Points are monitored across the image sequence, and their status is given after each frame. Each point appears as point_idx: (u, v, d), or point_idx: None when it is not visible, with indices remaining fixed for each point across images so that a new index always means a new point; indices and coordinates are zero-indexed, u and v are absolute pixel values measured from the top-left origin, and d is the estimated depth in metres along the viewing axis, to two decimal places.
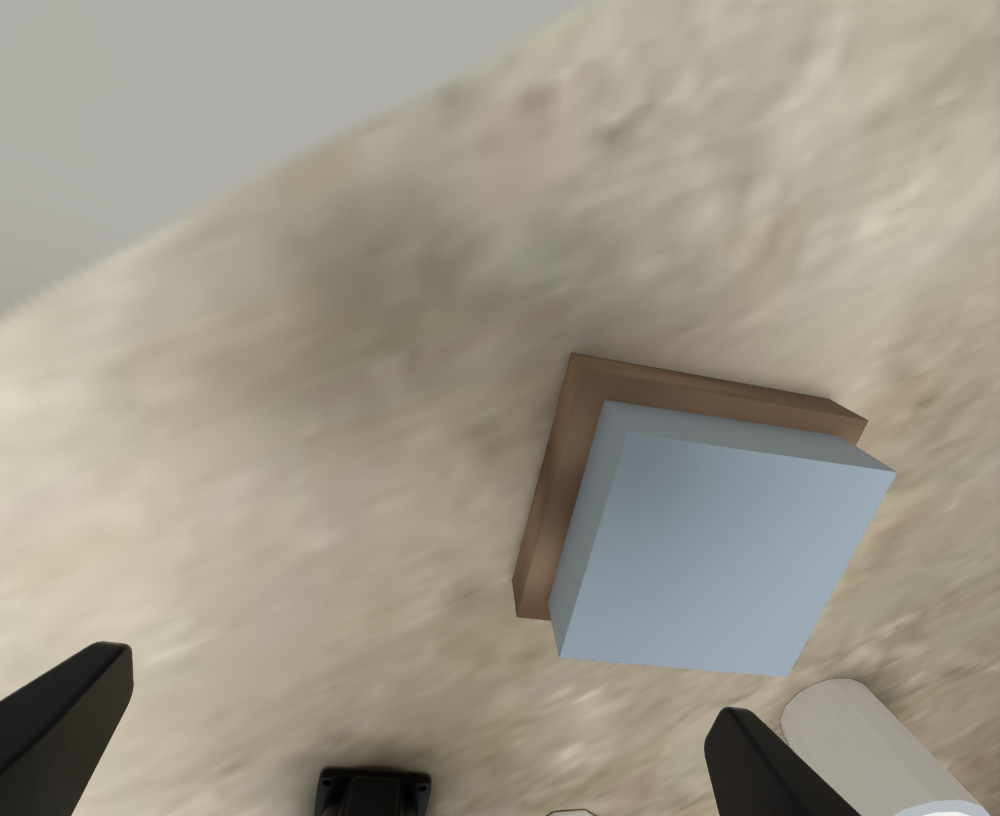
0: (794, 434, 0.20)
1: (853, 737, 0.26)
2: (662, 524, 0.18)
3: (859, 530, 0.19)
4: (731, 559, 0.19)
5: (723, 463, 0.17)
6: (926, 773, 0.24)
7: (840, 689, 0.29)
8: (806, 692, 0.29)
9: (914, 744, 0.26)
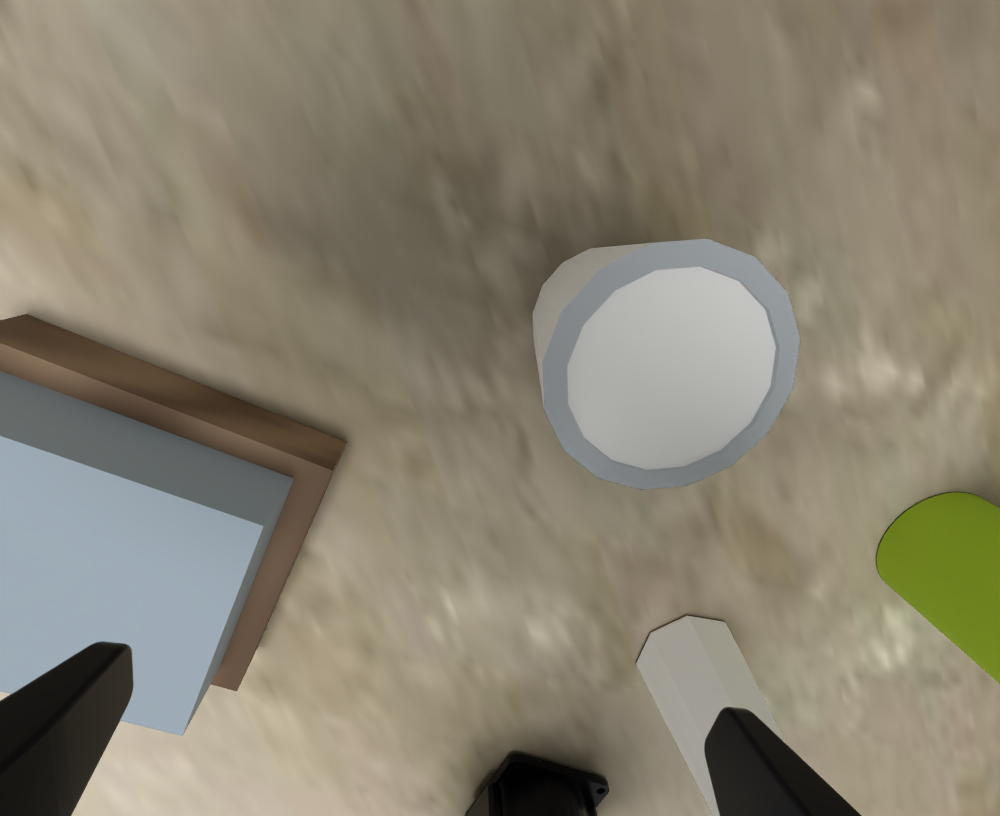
0: None
1: (538, 366, 0.17)
2: None
3: None
4: (42, 580, 0.16)
5: None
6: (549, 323, 0.14)
7: (533, 316, 0.19)
8: None
9: (562, 286, 0.15)
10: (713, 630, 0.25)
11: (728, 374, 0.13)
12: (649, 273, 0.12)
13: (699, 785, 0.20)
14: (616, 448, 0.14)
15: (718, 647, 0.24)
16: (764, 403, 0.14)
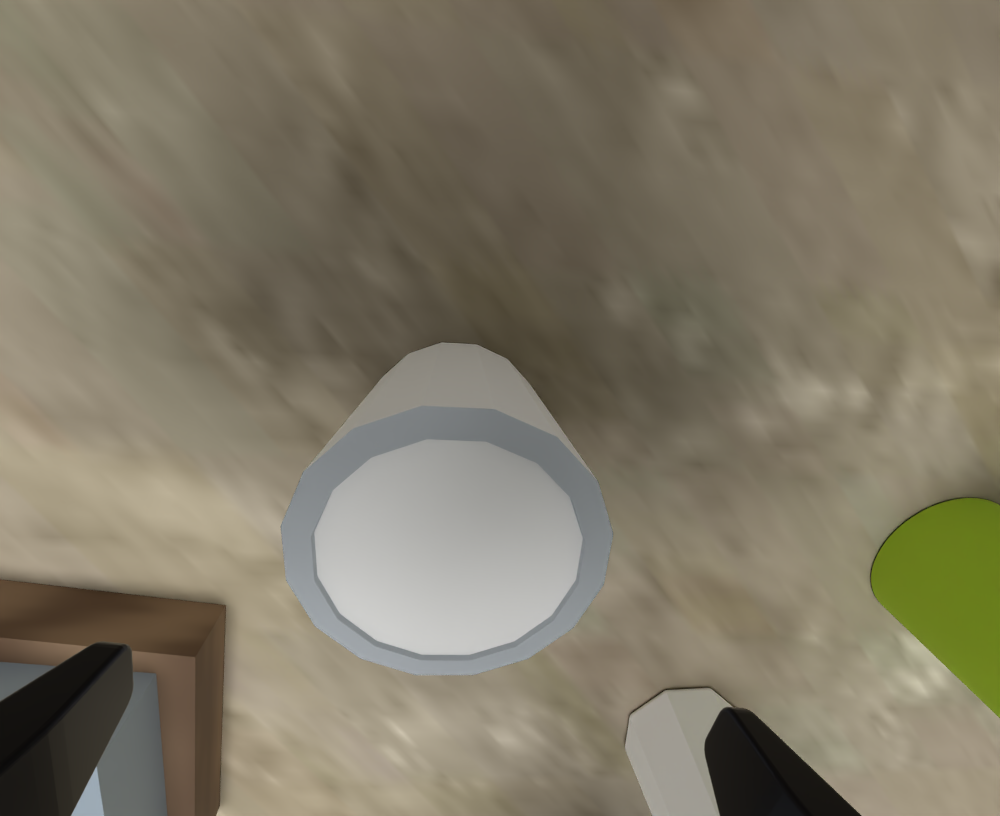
0: None
1: None
2: None
3: None
4: None
5: None
6: None
7: None
8: None
9: None
10: (696, 705, 0.22)
11: (522, 538, 0.10)
12: (366, 461, 0.10)
13: None
14: (421, 642, 0.11)
15: (701, 727, 0.21)
16: (582, 558, 0.11)
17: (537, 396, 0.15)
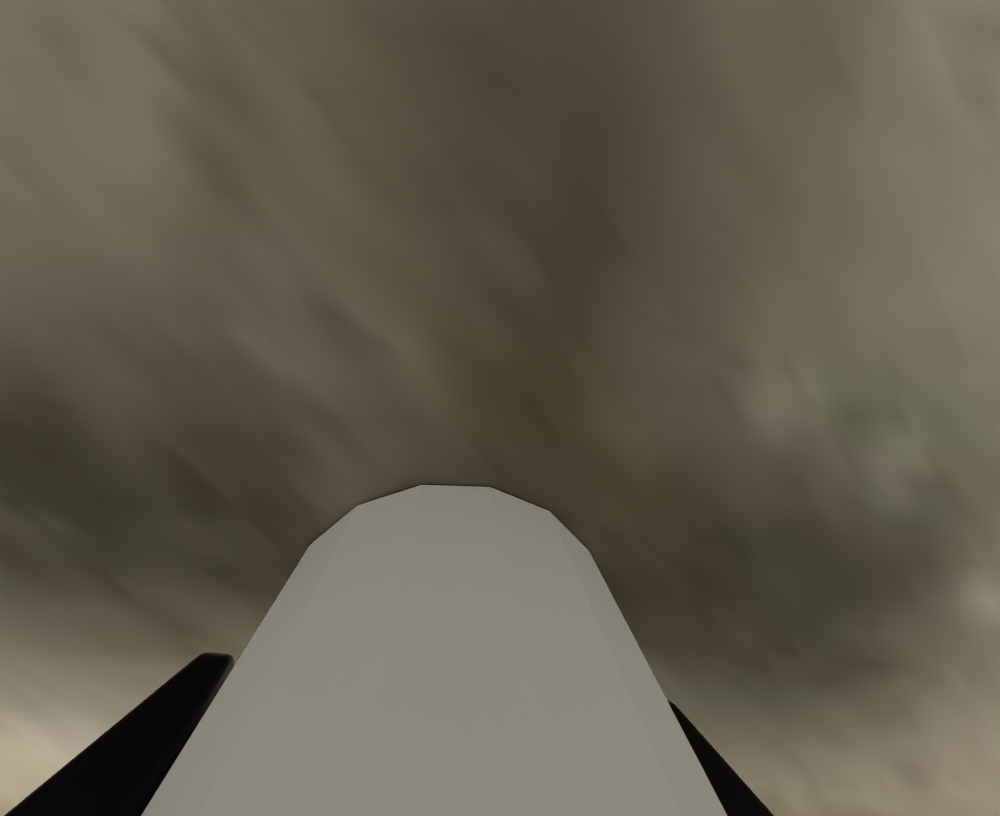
0: None
1: None
2: None
3: None
4: None
5: None
6: None
7: None
8: None
9: None
10: None
11: None
12: None
13: None
14: None
15: None
16: None
17: (622, 622, 0.07)
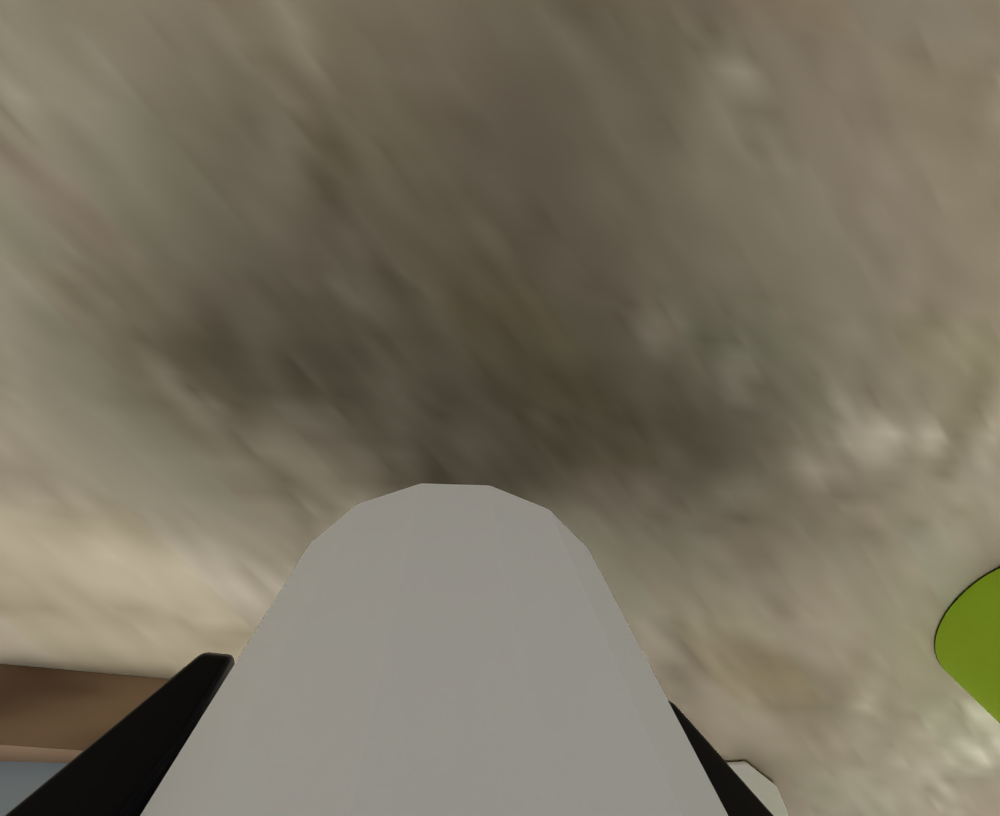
0: None
1: None
2: None
3: None
4: None
5: None
6: None
7: None
8: None
9: None
10: None
11: None
12: None
13: None
14: None
15: None
16: None
17: (621, 620, 0.07)
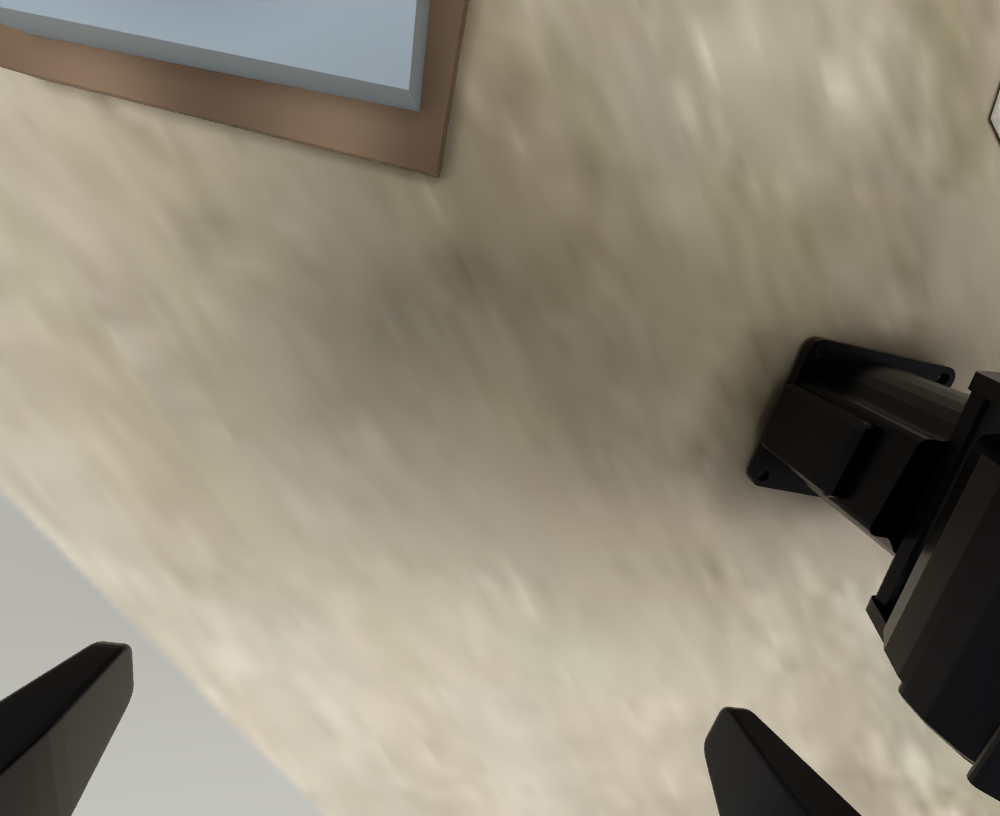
0: None
1: None
2: None
3: None
4: None
5: None
6: None
7: None
8: None
9: None
10: None
11: None
12: None
13: None
14: None
15: None
16: None
17: None
